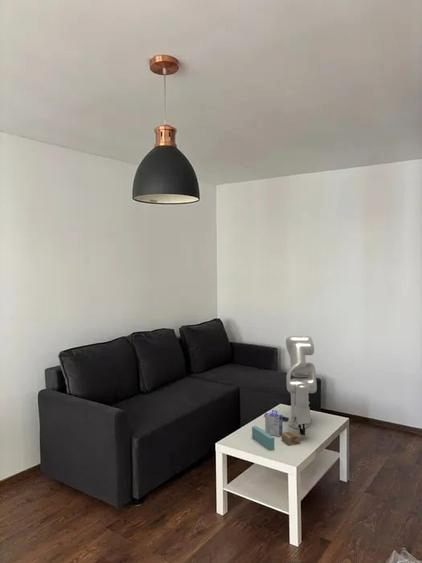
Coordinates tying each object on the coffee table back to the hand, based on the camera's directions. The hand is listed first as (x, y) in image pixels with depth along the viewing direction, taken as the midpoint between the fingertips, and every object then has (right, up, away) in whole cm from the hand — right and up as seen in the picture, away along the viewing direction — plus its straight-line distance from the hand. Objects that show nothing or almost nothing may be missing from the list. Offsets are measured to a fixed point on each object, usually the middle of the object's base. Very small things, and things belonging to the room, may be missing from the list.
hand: (302, 434), depth 258 cm
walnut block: (-8, -4, -3) cm, 9 cm away
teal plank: (-25, -4, -5) cm, 25 cm away
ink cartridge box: (-16, -3, +9) cm, 19 cm away
